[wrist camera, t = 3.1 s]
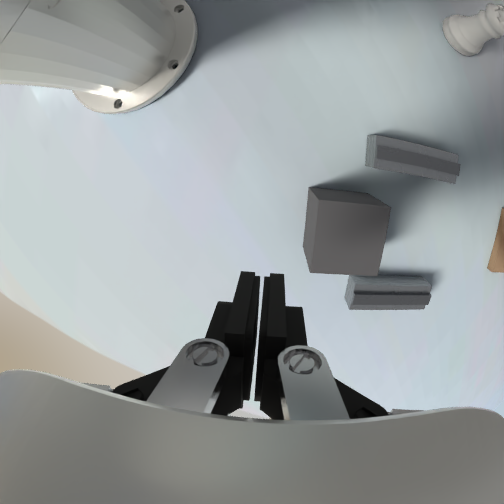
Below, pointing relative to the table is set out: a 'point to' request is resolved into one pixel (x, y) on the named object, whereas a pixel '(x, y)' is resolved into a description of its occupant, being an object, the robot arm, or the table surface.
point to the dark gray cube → (344, 232)
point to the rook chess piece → (474, 29)
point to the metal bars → (415, 163)
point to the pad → (498, 248)
